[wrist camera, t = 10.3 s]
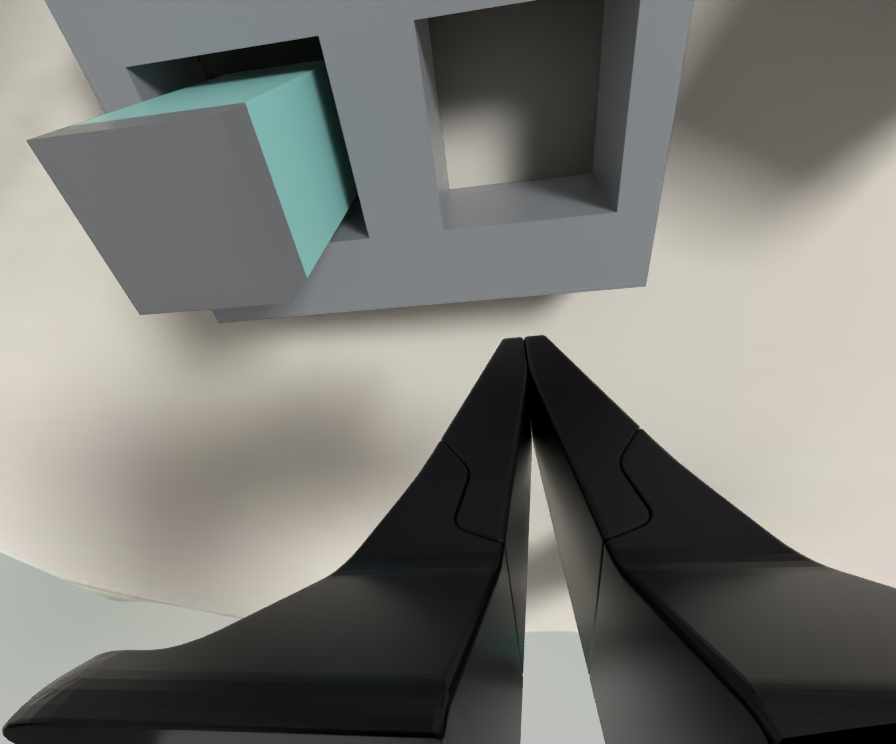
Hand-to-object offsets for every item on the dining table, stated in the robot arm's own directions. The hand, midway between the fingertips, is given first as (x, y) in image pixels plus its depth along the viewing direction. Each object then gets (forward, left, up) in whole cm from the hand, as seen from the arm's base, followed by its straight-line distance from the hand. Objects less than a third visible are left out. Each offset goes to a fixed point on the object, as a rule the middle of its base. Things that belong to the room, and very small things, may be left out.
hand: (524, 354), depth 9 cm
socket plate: (+3, +3, -11) cm, 12 cm away
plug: (+3, +7, -11) cm, 13 cm away
